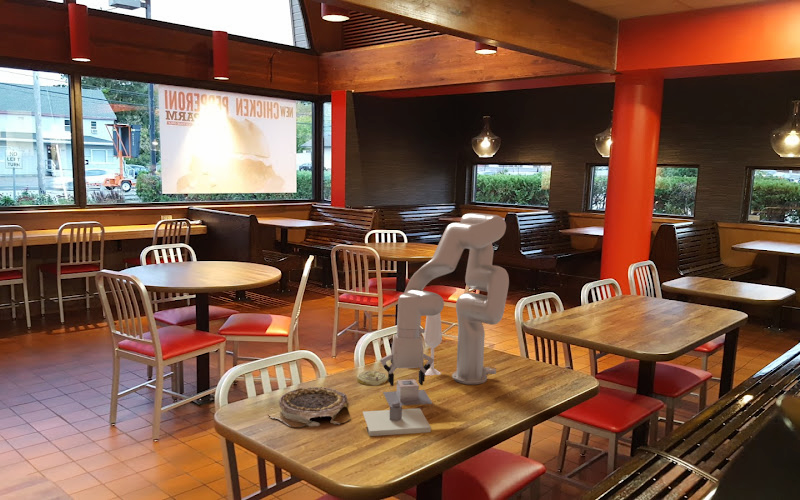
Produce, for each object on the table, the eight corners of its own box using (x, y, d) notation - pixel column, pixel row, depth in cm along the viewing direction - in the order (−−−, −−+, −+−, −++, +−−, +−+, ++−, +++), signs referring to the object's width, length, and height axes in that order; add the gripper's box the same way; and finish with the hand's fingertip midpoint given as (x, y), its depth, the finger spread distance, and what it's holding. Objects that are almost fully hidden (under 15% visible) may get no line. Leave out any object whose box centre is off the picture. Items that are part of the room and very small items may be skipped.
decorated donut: (379, 392, 208) (379, 381, 208) (351, 386, 213) (351, 376, 212) (392, 382, 218) (392, 372, 217) (365, 377, 222) (365, 367, 221)
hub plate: (419, 412, 191) (420, 392, 190) (430, 432, 178) (431, 410, 177) (362, 416, 187) (362, 395, 187) (369, 436, 174) (369, 414, 173)
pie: (252, 409, 192) (252, 394, 191) (321, 389, 211) (322, 375, 210) (304, 439, 172) (305, 422, 172) (376, 414, 191) (377, 398, 191)
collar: (414, 393, 203) (414, 379, 202) (418, 400, 197) (418, 385, 196) (396, 394, 202) (396, 380, 201) (400, 401, 196) (400, 386, 195)
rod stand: (423, 394, 207) (424, 379, 206) (432, 408, 195) (433, 393, 194) (382, 396, 204) (383, 381, 203) (389, 410, 192) (389, 395, 191)
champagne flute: (419, 371, 229) (421, 308, 226) (435, 369, 232) (437, 307, 229) (428, 377, 223) (429, 312, 220) (444, 374, 226) (446, 311, 223)
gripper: (431, 329, 201) (429, 379, 203) (379, 329, 198) (377, 381, 200) (437, 335, 194) (434, 387, 196) (383, 335, 191) (381, 389, 193)
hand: (406, 384), depth 198 cm, fingers open, 9 cm apart
